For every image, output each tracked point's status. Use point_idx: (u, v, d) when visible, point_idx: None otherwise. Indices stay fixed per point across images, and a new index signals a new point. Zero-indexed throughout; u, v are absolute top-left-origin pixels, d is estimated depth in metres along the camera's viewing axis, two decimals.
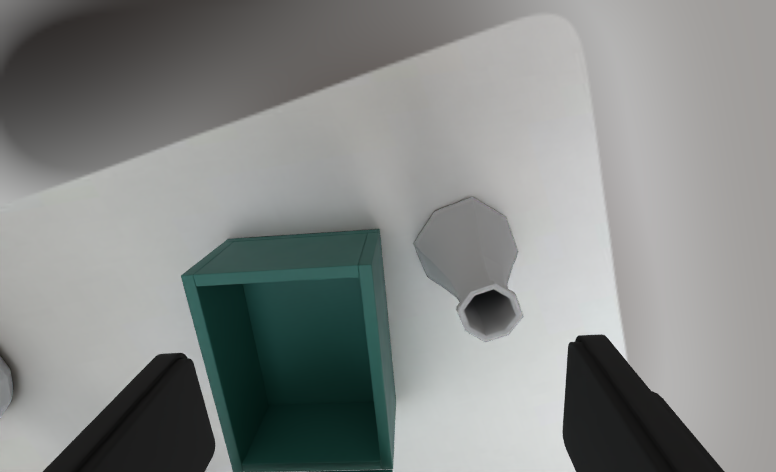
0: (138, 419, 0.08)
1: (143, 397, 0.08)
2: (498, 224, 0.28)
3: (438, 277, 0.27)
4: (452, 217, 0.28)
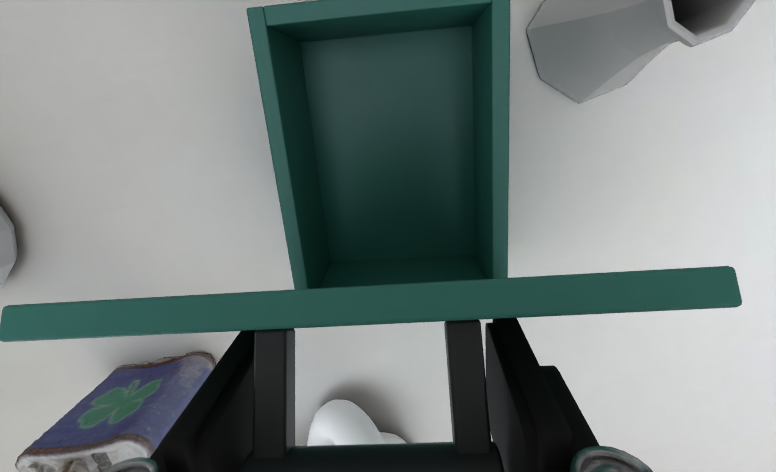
0: (242, 384, 0.09)
1: (241, 365, 0.09)
2: None
3: (573, 45, 0.21)
4: None
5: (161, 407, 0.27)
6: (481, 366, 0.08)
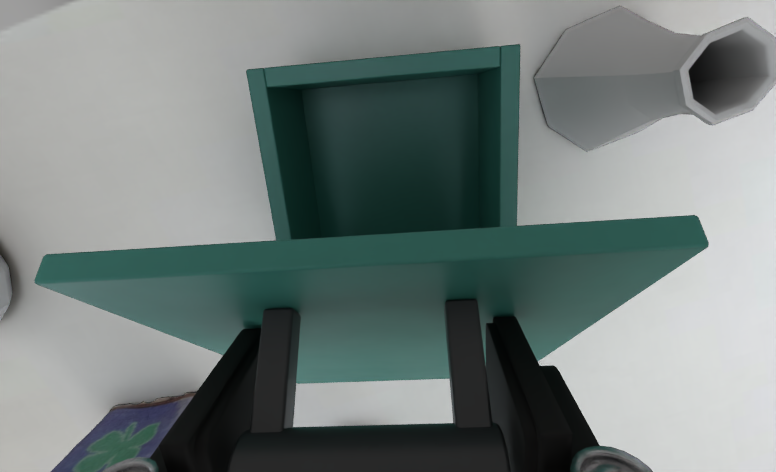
0: (241, 384, 0.09)
1: (241, 365, 0.09)
2: None
3: (583, 101, 0.20)
4: (598, 24, 0.21)
5: None
6: (479, 341, 0.08)
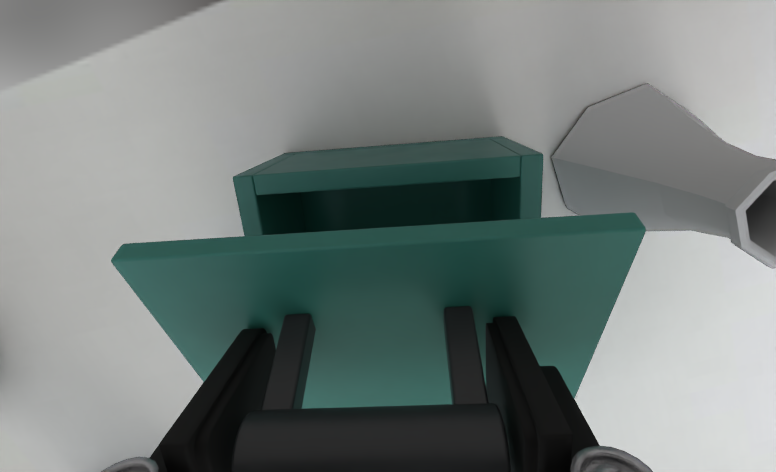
0: (241, 384, 0.09)
1: (241, 365, 0.09)
2: (696, 118, 0.19)
3: (609, 195, 0.18)
4: (625, 108, 0.19)
5: None
6: (474, 336, 0.09)
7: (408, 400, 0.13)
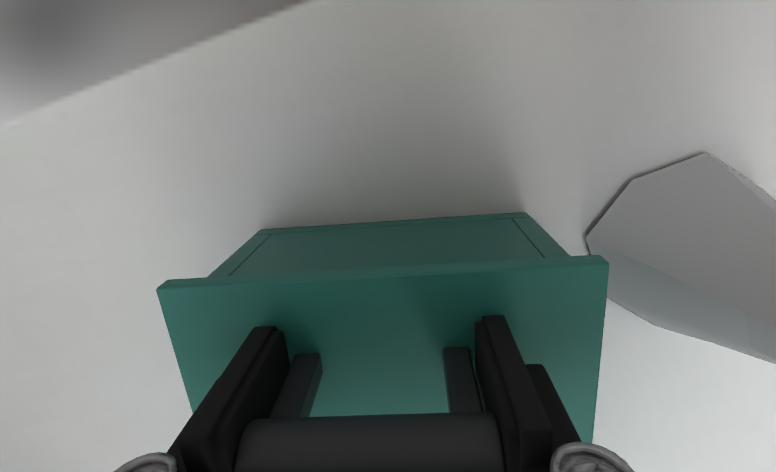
0: (255, 380, 0.09)
1: (254, 361, 0.09)
2: (773, 200, 0.15)
3: (665, 300, 0.14)
4: (683, 187, 0.15)
5: None
6: (471, 367, 0.10)
7: None
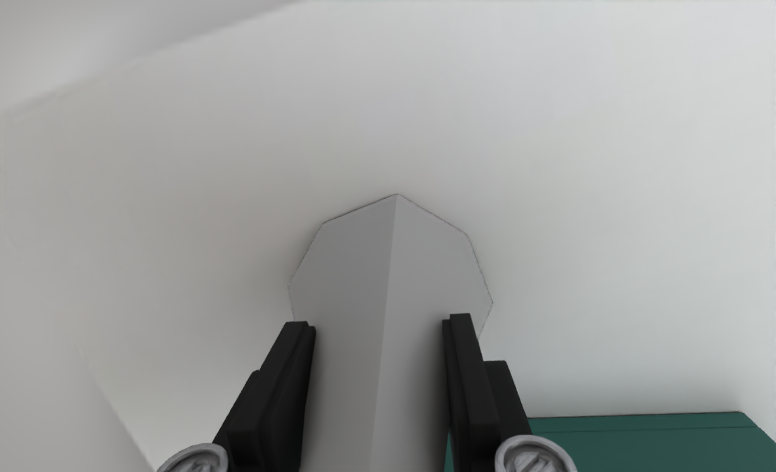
0: (294, 373, 0.09)
1: (291, 356, 0.09)
2: (316, 262, 0.13)
3: None
4: None
5: None
6: None
7: None
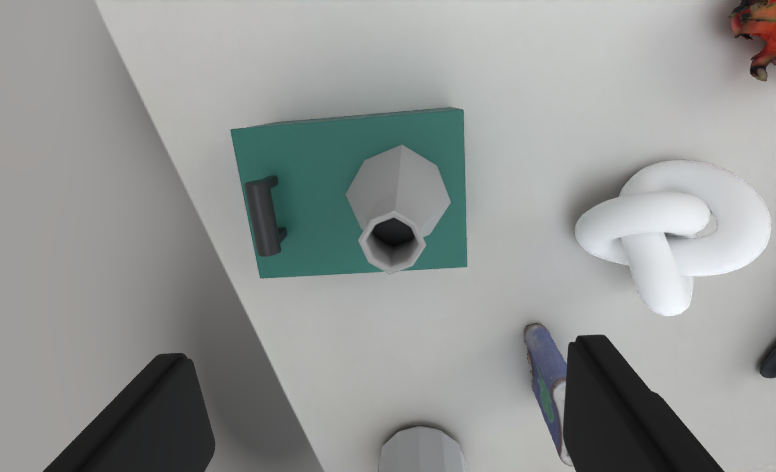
0: (138, 419, 0.08)
1: (143, 397, 0.08)
2: (363, 176, 0.28)
3: None
4: (358, 219, 0.29)
5: (543, 366, 0.35)
6: (263, 178, 0.29)
7: (335, 195, 0.30)
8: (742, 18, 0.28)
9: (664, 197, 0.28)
